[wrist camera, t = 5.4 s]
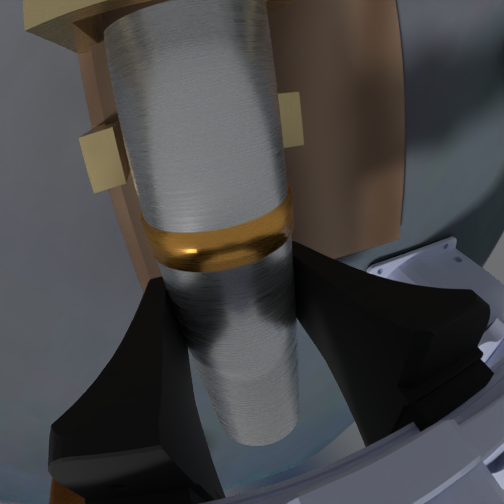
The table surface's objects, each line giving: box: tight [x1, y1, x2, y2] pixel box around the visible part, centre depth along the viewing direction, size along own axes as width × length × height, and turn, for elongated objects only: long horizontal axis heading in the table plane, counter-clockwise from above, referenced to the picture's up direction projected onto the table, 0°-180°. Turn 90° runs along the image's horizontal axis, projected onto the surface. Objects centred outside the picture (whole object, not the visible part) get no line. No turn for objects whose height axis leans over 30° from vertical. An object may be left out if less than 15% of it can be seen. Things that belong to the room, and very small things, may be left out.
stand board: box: [78, 0, 405, 292], centre depth 13 cm, size 16×20×2 cm
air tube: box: [104, 0, 300, 446], centre depth 10 cm, size 16×4×4 cm, turn 7°
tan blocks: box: [23, 0, 304, 193], centre depth 8 cm, size 8×11×6 cm
